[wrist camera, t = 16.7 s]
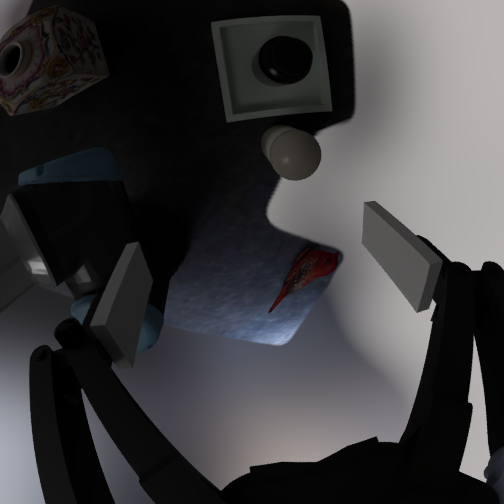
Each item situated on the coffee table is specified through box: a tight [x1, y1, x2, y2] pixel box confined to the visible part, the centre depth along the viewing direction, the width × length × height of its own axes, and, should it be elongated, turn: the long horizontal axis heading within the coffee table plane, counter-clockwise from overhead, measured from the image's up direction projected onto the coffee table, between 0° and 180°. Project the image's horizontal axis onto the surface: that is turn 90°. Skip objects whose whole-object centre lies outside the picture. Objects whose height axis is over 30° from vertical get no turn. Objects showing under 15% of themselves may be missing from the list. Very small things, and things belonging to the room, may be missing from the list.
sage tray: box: [211, 15, 332, 122], centre depth 36 cm, size 16×16×3 cm
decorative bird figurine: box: [269, 247, 339, 313], centre depth 52 cm, size 3×18×10 cm, turn 141°
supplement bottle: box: [251, 36, 313, 87], centre depth 31 cm, size 7×7×12 cm
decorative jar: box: [0, 5, 110, 116], centre depth 24 cm, size 12×12×18 cm
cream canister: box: [261, 124, 321, 180], centre depth 40 cm, size 7×7×10 cm
